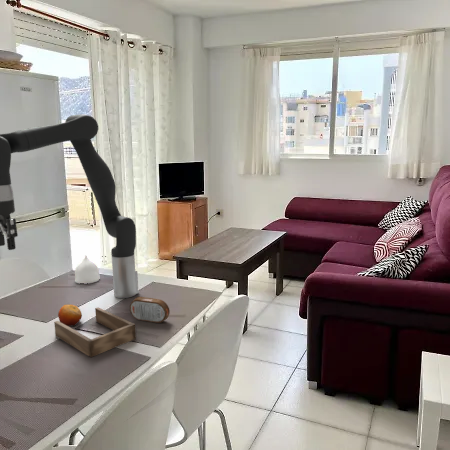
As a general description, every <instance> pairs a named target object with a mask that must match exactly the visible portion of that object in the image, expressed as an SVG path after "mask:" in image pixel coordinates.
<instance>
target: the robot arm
mask: <svg viewBox="0 0 450 450" xmlns="http://www.w3.org/2000/svg"><path fill="white" fill-rule="evenodd" d="M98 133H99V125H98V121H97V120H96V118H94V117H93V116H91V115H89V114H73V115H69V116H68V117H67V118H66V119H65V122H62V123H56V124H49V125H42V126H36V127H35V126H34V127H29V128H25V129H20V130H16V131H15V130H14V131H12V132H7V133H6V132H5V133H0V247H2V246H5V245H7V250H8V251H12V250H13V251H14V250H16V239H15V238H17V237H18V236H19V235H18V228H17V227H18V226H17V221H16V218H15V217H13V218H12V217H11V215H12V214H14V213H15V212H16V207H15V200H14V199H15V197H14V192H13V187H12V179H11V172H10V170H11V164H12V163H11V162H12V154H14V153H25V152H29V151H34V150H37V149H41V148H46V147H49V146H52V145H55V144H59V143H64V142H70V143H71V145H72V147H73V149H74V150H75V152H76V154H77V157H78V159H79V162H80V164H81V167H82V169H83V172H84V174H85V176H86V179H87V182H88V185H89V186H90V188H91V192H93V193H92V194H93V195H94V198H95V201H96V202H97V205H98V207H99V210H100V213H101V217H102V221H103V224H104V228H105V230H106V232H107V234H108V235H109V236H111V237H112V238H114V239H116V240H115V242H116V243H115V246H114V247H112V248H111V250H110V251H111V252H110V253H111V254H110V255H111V267H112V286H113V295H114V297H115V298H119V299H127V298H131V297H134V296H137V294H139V276H138V271H137V270H136V261H135V260H136V258H135V250H136V248H137V247H136V246H137V231H136V230H137V229H136V223H135V221H134V219H132V218H131V217H128V216H123V215H122V214H121V213H120V210H119V209H118V206H117V203H116V191H117V189H116V181H115V179H114V176H113V174H112V172H111V169H110V167H109V165H108V164H107V163H106V161H105V160H104V159H103V158H102V156H100V154H99V153H98V152H97V150H96V148H95V147H94V144H93V142H92V139H93V138H95V137H96V135H98ZM5 237H6V240H5Z"/></svg>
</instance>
